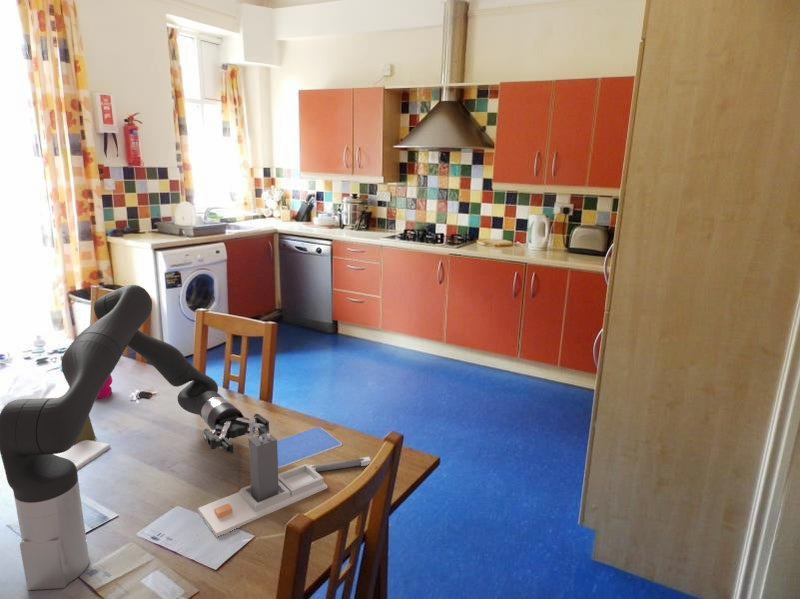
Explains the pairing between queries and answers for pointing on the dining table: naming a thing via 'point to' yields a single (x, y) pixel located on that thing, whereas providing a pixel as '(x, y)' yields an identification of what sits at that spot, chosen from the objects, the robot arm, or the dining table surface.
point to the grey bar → (341, 464)
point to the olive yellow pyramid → (86, 432)
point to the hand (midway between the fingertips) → (250, 443)
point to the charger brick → (263, 466)
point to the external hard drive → (84, 452)
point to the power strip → (246, 508)
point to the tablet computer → (304, 446)
